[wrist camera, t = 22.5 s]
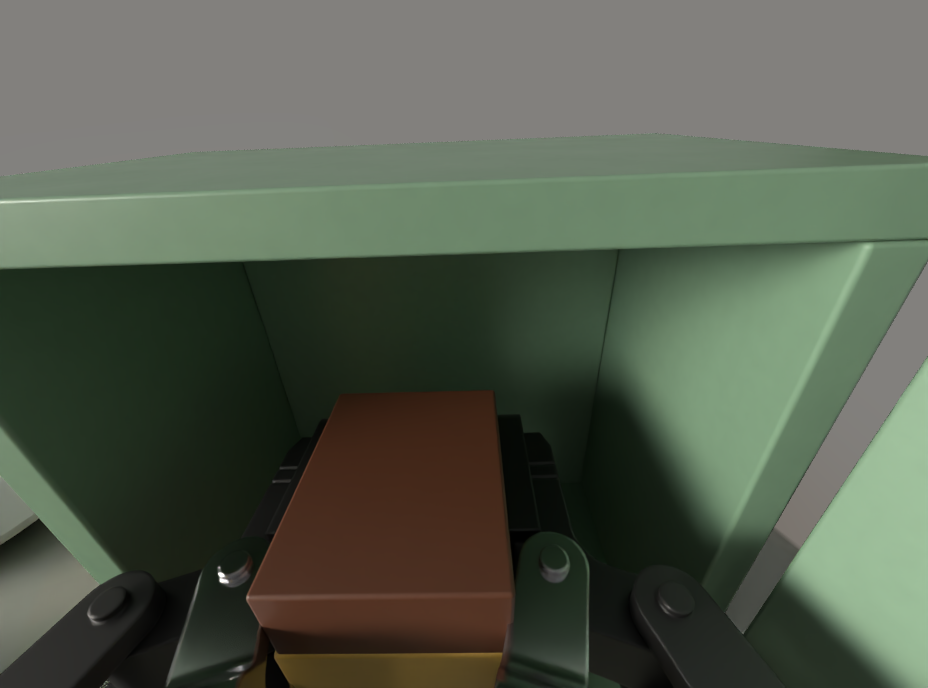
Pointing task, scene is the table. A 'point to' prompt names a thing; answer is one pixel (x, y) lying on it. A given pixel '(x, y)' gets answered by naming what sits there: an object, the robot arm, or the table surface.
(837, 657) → the cupboard door
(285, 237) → the cupboard
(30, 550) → the table surface
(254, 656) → the robot arm
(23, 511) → the flower in vase
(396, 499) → the chocolate box
